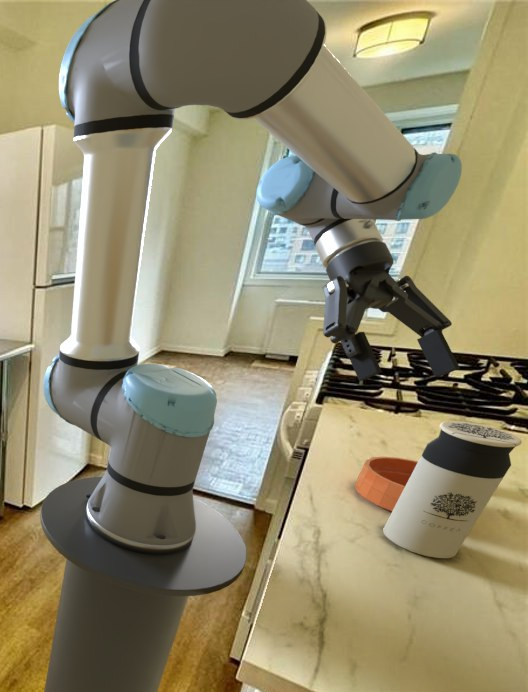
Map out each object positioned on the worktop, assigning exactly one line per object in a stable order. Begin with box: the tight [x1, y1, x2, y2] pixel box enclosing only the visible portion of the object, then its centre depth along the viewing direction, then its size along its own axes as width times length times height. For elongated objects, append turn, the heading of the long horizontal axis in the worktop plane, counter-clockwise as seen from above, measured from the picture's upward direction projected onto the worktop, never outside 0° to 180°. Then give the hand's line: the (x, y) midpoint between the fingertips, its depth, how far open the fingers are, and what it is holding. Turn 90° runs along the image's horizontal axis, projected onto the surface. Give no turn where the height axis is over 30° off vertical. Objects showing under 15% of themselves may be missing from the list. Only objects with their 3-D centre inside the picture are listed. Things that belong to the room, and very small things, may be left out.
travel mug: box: [382, 420, 523, 559], centre depth 67 cm, size 8×8×18 cm
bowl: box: [354, 456, 419, 512], centre depth 80 cm, size 14×14×5 cm
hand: (409, 374), depth 70 cm, fingers open, 13 cm apart
